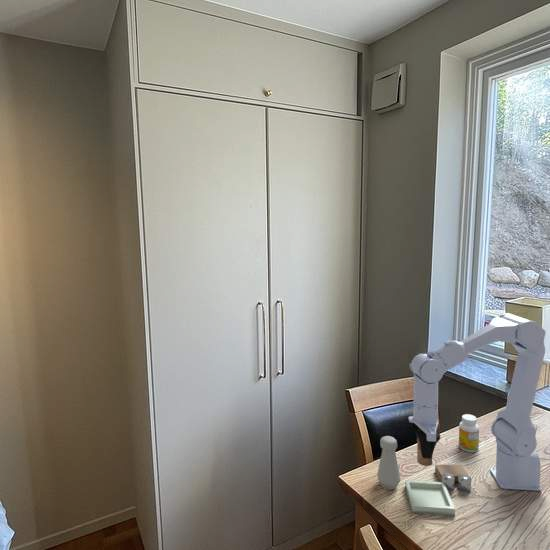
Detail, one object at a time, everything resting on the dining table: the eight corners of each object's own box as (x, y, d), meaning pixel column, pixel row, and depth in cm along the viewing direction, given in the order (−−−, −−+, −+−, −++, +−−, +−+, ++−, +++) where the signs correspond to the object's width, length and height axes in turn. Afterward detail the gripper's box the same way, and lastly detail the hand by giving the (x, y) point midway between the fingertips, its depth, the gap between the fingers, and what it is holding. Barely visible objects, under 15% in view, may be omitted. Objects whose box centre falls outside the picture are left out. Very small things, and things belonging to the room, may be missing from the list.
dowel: (430, 457, 103) (430, 429, 102) (433, 466, 100) (434, 436, 99) (415, 457, 104) (415, 428, 103) (418, 465, 100) (419, 435, 99)
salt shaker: (401, 493, 101) (401, 445, 100) (378, 491, 103) (377, 444, 101) (398, 479, 107) (399, 433, 105) (376, 477, 108) (376, 432, 107)
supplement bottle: (455, 442, 123) (456, 413, 122) (473, 442, 123) (474, 412, 122) (463, 452, 118) (464, 421, 117) (481, 452, 118) (482, 421, 116)
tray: (443, 488, 102) (444, 482, 102) (454, 515, 93) (455, 508, 93) (405, 486, 104) (405, 480, 104) (412, 512, 95) (412, 505, 94)
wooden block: (460, 472, 109) (461, 464, 109) (468, 484, 104) (469, 475, 104) (435, 473, 110) (435, 464, 109) (441, 484, 105) (442, 476, 104)
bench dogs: (468, 484, 104) (469, 474, 103) (472, 492, 101) (472, 481, 100) (440, 483, 105) (440, 472, 104) (443, 490, 102) (443, 480, 101)
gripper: (404, 389, 108) (404, 436, 109) (414, 415, 93) (413, 469, 95) (431, 390, 106) (431, 438, 108) (446, 416, 92) (444, 471, 94)
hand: (425, 452), depth 102 cm, fingers closed on dowel, 4 cm apart
